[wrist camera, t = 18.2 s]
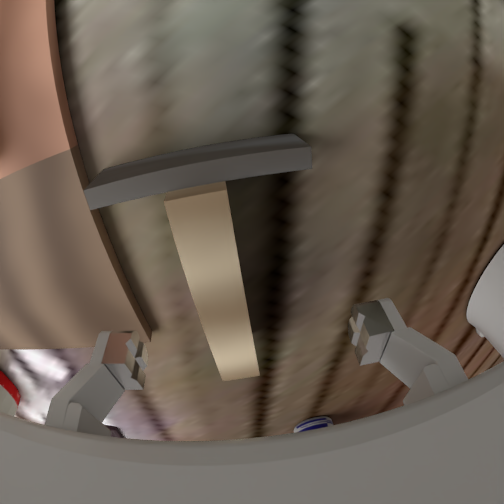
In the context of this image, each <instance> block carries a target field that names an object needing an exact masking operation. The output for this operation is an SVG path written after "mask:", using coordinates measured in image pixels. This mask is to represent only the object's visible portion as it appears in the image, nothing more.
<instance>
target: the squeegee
mask: <svg viewBox="0 0 504 504" xmlns="http://www.w3.org/2000/svg"><path fill="white" fill-rule="evenodd" d="M306 169H312V153H311V146H310V145H308V144H307V143H306V142H304V141H303V140H302V139H300V138H299V137H298V136H296V135H295V134H283V135H274V136H266V137H258V138H251V139H243V140H237V141H230V142H224V143H218V144H212V145H207V146H201V147H196V148H191V149H186V150H181V151H176V152H171V153H167V154H162V155H158V156H153V157H149V158H145V159H141V160H137V161H133V162H129V163H125V164H122V165H118V166H114V167H111V168H107V169H104V170H102V171H101V172H100V173H99V174H98V176H97V177H96V178H95V179H94V180H93V181H92V182H91V183H90V184H89V185H88V186H87V187H86V188H85V189H84V190H83V191H84V194H85V197H86V199H87V202H88V205H89V208H90V210H93V209H97V208H101V207H105V206H109V205H113V204H117V203H121V202H125V201H129V200H134V199H138V198H142V197H147V196H151V195H156V194H161V193H165V192H167V193H166V197H165V200H164V204H165V208H166V212H167V215H168V219H169V222H170V226H171V229H172V233H173V236H174V240H175V243H176V246H177V250H178V253H179V256H180V260H181V263H182V266H183V269H184V272H185V276H186V279H187V282H188V285H189V288H190V291H191V294H192V297H193V300H194V303H195V306H196V309H197V312H198V315H199V318H200V321H201V323H202V326H203V329H204V332H205V335H206V337H207V340H208V343H209V346H210V348H211V351H212V354H213V356H214V359H215V362H216V364H217V367H218V370H219V372H220V375H221V377H222V380H223V381H228V380H234V379H241V378H247V377H253V376H259V375H260V374H259V368H258V363H257V358H256V352H255V347H254V341H253V336H252V330H251V325H250V319H249V314H248V308H247V303H246V297H245V292H244V286H243V280H242V275H241V269H240V263H239V258H238V252H237V246H236V240H235V235H234V229H233V223H232V217H231V211H230V205H229V199H228V193H227V187H226V181H229V180H235V179H241V178H247V177H254V176H260V175H267V174H274V173H282V172H289V171H297V170H306Z"/></svg>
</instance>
